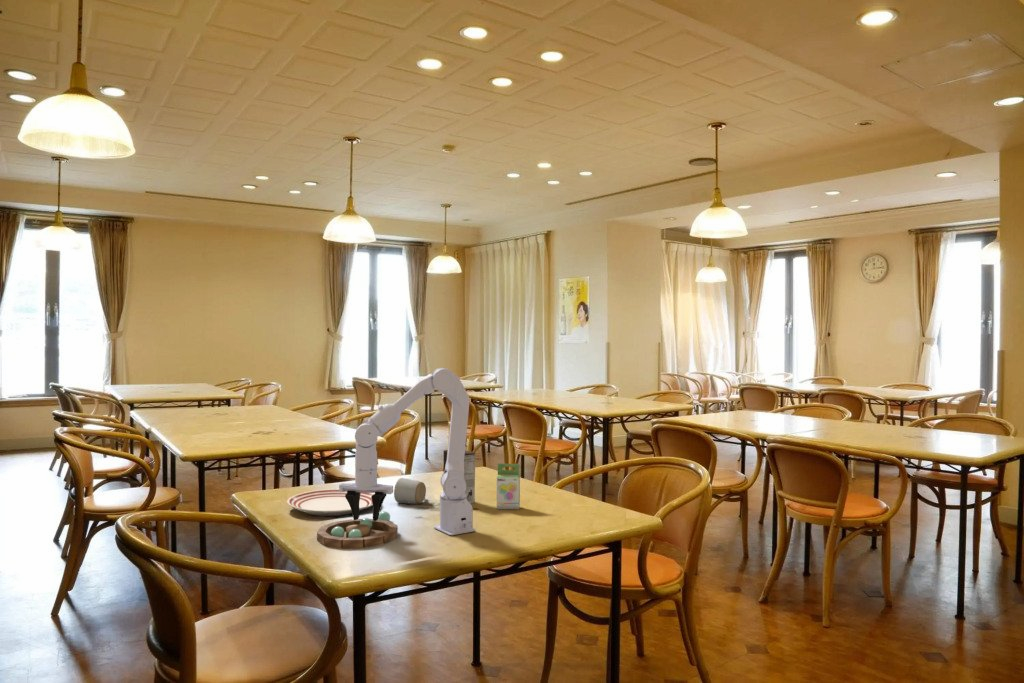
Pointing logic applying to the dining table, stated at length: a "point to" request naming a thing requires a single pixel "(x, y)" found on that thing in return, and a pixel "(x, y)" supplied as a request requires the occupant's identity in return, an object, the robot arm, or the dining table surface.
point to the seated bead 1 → (337, 532)
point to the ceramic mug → (409, 491)
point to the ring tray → (373, 540)
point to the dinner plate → (327, 502)
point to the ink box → (508, 487)
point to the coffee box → (467, 474)
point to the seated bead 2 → (355, 534)
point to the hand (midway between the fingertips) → (366, 519)
